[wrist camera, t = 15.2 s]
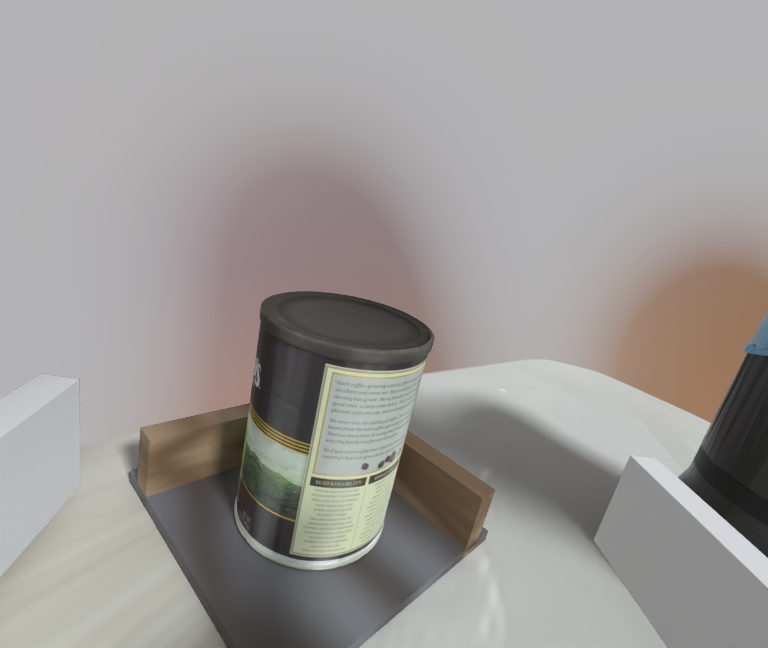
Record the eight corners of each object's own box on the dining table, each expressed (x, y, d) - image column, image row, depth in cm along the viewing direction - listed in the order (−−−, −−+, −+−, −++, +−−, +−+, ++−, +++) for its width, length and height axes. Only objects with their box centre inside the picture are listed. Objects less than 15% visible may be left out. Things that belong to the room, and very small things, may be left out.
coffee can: (201, 545, 25) (227, 316, 21) (268, 449, 35) (294, 281, 31) (374, 594, 24) (434, 367, 20) (392, 482, 34) (435, 315, 30)
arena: (330, 420, 43) (340, 375, 41) (485, 539, 32) (504, 482, 30) (129, 480, 30) (132, 416, 28) (271, 721, 18) (288, 635, 17)
